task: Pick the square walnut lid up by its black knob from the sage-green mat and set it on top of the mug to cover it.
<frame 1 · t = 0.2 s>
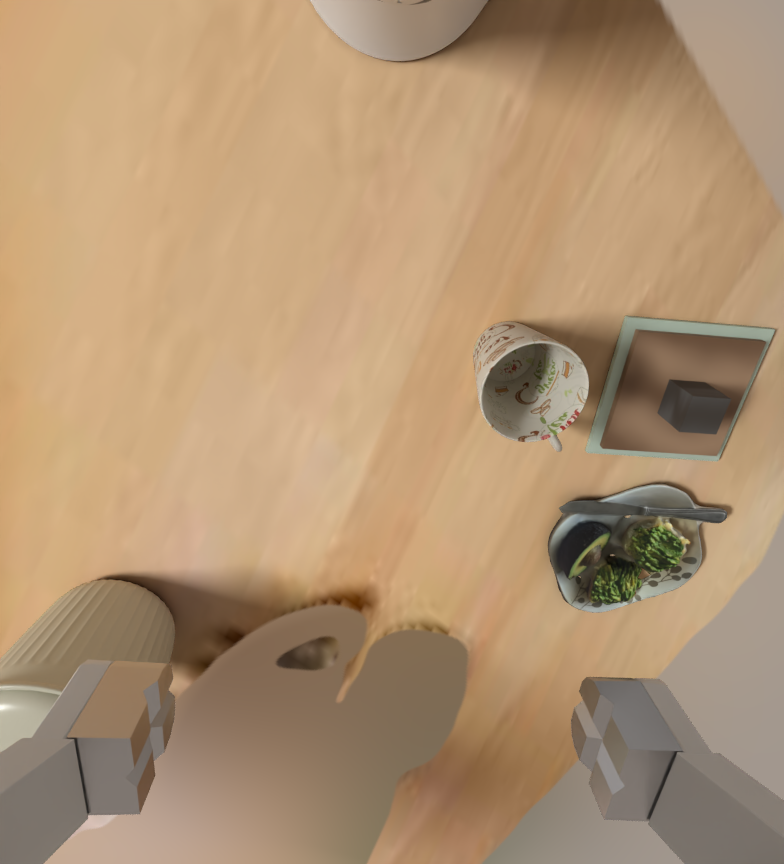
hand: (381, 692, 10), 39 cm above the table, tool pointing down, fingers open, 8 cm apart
green mat: (673, 392, 50), on the table
canister: (123, 612, 61), on the table
walnut lid: (676, 394, 50), point 1 cm above the table, touching green mat
mug: (514, 369, 49), on the table
salad plate: (615, 541, 59), on the table
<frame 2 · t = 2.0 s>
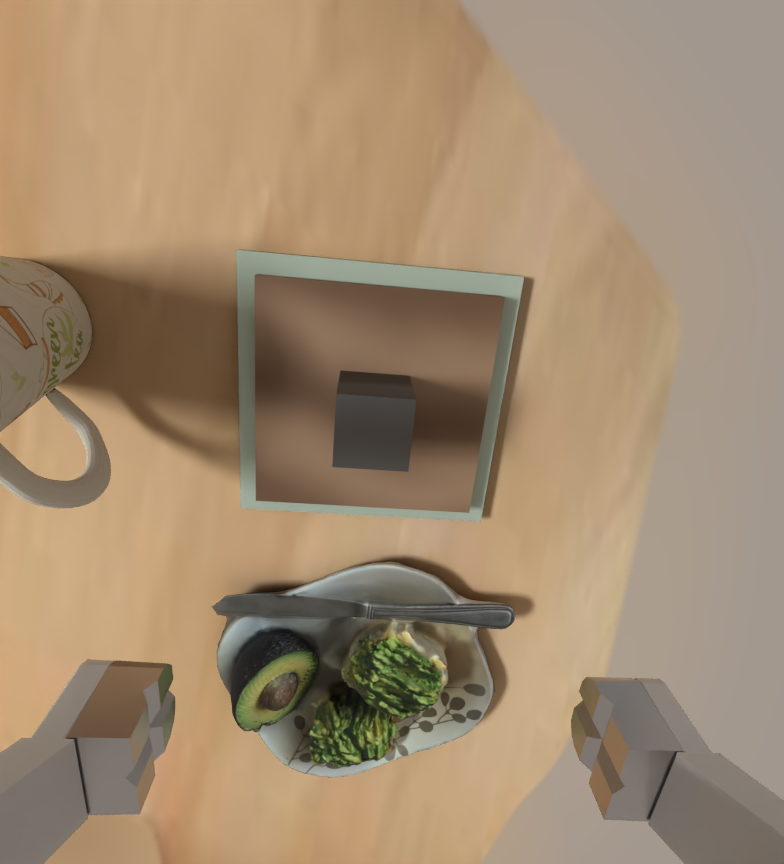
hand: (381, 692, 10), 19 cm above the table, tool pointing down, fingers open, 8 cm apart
green mat: (372, 397, 28), on the table
walnut lid: (372, 400, 27), point 1 cm above the table, touching green mat
mug: (65, 355, 26), on the table
salad plate: (350, 657, 35), on the table
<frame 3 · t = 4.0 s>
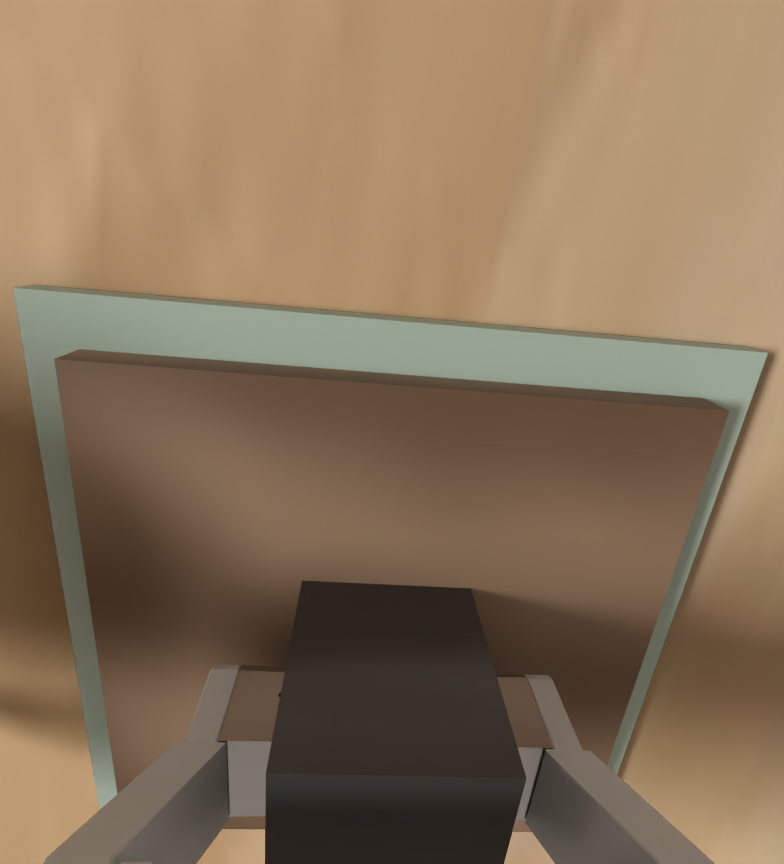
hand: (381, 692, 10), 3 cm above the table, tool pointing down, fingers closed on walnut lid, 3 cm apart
green mat: (379, 607, 12), on the table
walnut lid: (379, 624, 12), point 1 cm above the table, touching green mat, gripper
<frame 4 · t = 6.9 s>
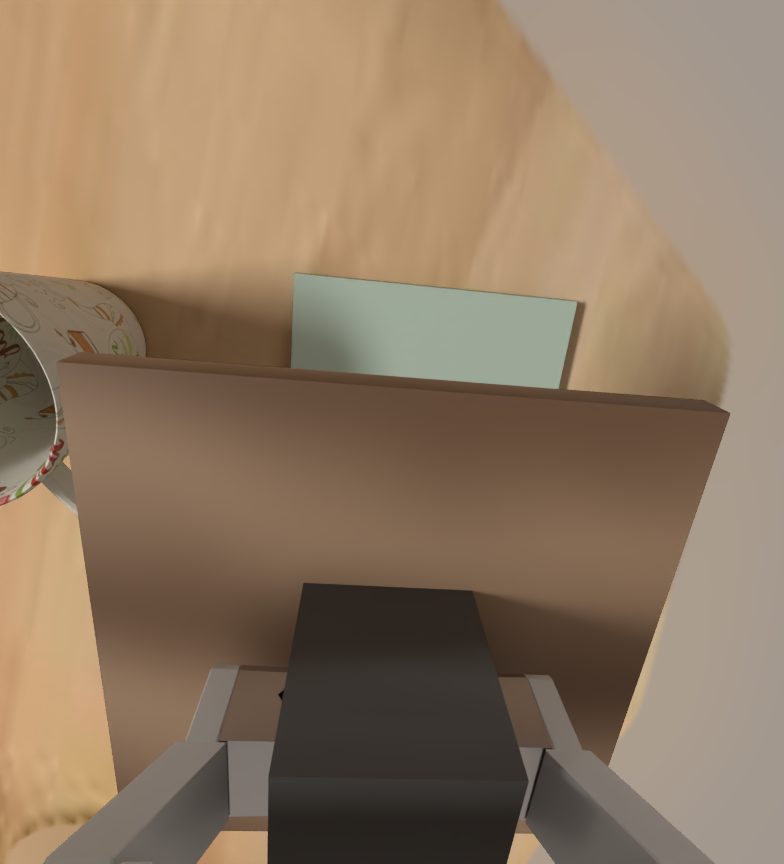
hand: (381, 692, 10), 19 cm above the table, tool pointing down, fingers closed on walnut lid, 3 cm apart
green mat: (420, 419, 28), on the table
walnut lid: (380, 626, 12), point 17 cm above the table, touching gripper
mug: (117, 375, 27), on the table
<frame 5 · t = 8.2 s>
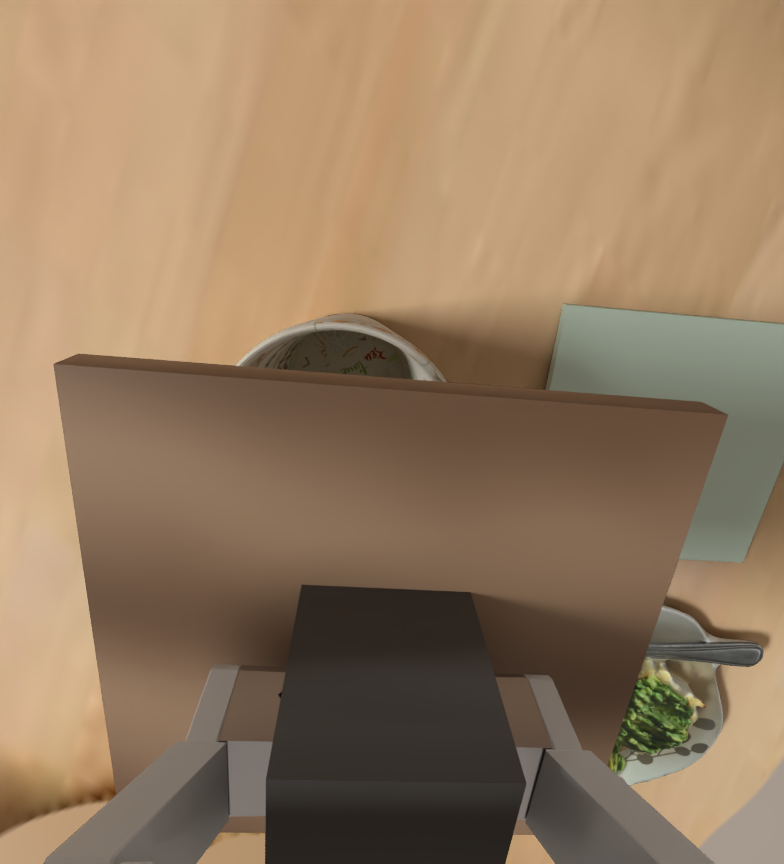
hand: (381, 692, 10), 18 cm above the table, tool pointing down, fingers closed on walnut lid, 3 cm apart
green mat: (659, 443, 28), on the table
walnut lid: (379, 628, 12), point 16 cm above the table, touching gripper
mug: (371, 404, 27), on the table
salad plate: (578, 691, 36), on the table
when the fingers open (13 cm above the table, at t = 9.4 s): walnut lid drops 1 cm, resting on mug.
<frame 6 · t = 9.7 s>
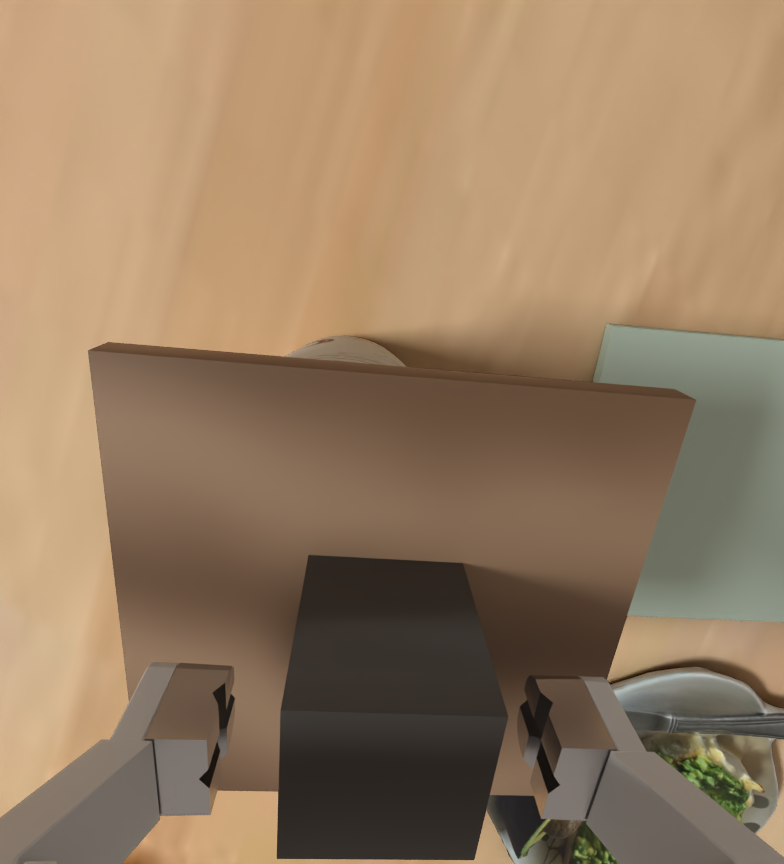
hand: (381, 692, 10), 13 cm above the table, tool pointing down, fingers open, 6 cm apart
green mat: (715, 488, 24), on the table
walnut lid: (379, 598, 13), point 10 cm above the table, touching mug
mug: (373, 443, 22), on the table, touching walnut lid
salad plate: (610, 762, 31), on the table
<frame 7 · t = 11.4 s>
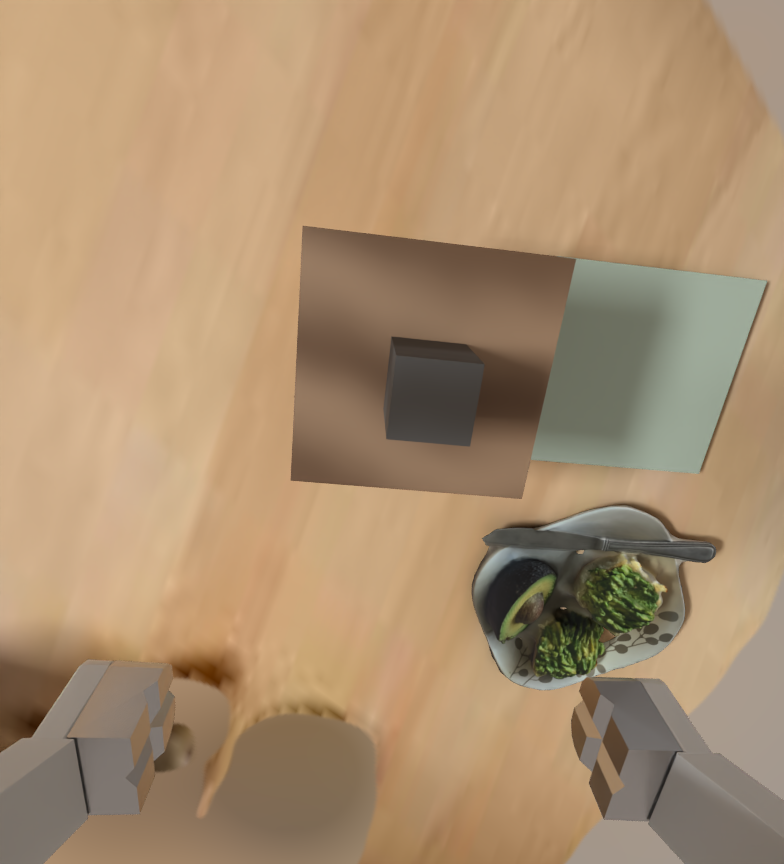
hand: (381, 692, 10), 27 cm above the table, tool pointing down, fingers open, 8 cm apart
green mat: (631, 372, 36), on the table
walnut lid: (422, 372, 25), point 10 cm above the table, touching mug
salad plate: (566, 589, 43), on the table
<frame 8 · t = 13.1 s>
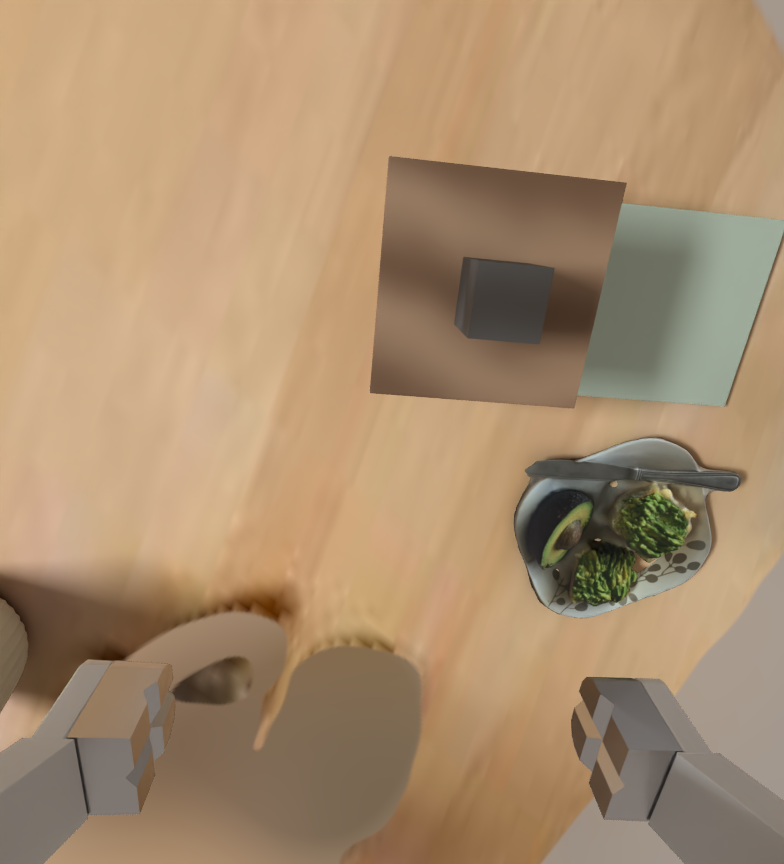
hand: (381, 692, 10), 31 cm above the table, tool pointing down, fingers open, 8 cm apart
green mat: (662, 310, 39), on the table
walnut lid: (487, 292, 28), point 10 cm above the table, touching mug
salad plate: (600, 521, 46), on the table
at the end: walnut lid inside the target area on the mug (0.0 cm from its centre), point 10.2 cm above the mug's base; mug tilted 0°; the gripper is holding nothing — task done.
